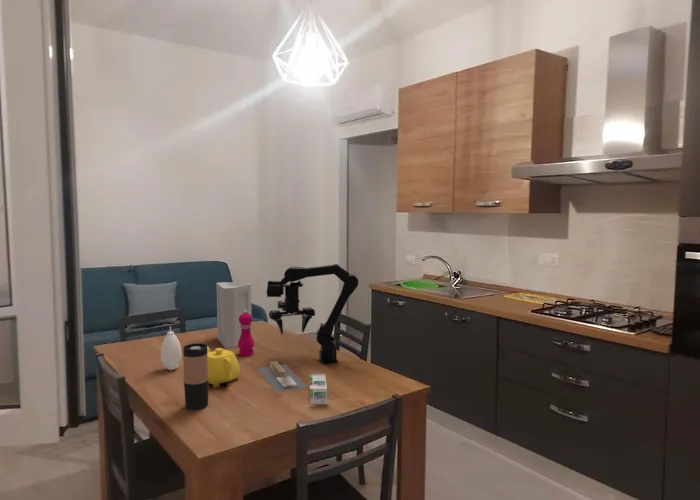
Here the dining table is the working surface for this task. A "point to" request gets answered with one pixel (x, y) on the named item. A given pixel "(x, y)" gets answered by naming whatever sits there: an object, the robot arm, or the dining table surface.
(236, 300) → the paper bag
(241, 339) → the pepper mill
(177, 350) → the air blower bulb
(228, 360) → the teapot
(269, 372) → the charcoal board
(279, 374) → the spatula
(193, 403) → the travel mug
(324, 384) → the syrup box
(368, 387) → the dining table surface
